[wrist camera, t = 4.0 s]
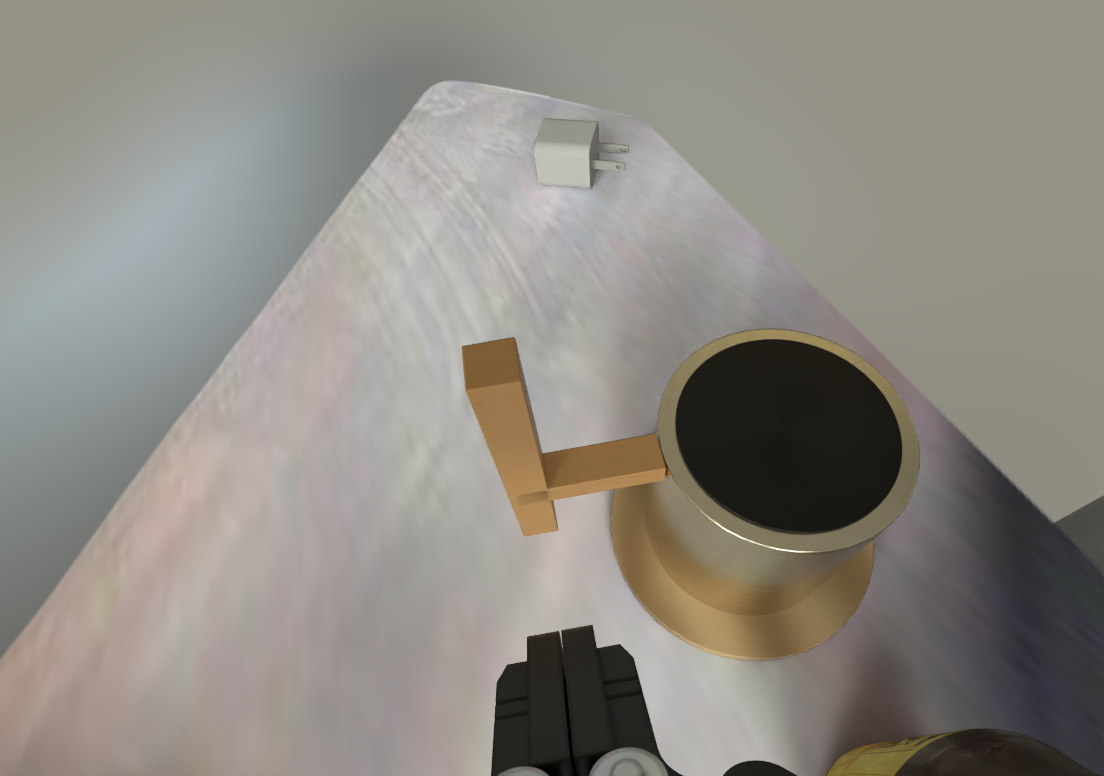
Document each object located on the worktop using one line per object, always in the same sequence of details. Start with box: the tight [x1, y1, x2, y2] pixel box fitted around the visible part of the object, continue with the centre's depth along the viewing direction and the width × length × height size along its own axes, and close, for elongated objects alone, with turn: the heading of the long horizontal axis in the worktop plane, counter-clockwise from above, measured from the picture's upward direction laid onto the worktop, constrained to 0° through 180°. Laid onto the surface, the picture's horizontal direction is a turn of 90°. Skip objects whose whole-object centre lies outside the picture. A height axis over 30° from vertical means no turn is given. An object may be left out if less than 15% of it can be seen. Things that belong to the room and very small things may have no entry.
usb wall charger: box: [534, 118, 629, 189], centre depth 49 cm, size 4×7×4 cm, turn 77°
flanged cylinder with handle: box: [462, 329, 920, 616], centre depth 26 cm, size 16×10×19 cm, turn 99°
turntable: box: [611, 432, 874, 661], centre depth 34 cm, size 14×14×1 cm
